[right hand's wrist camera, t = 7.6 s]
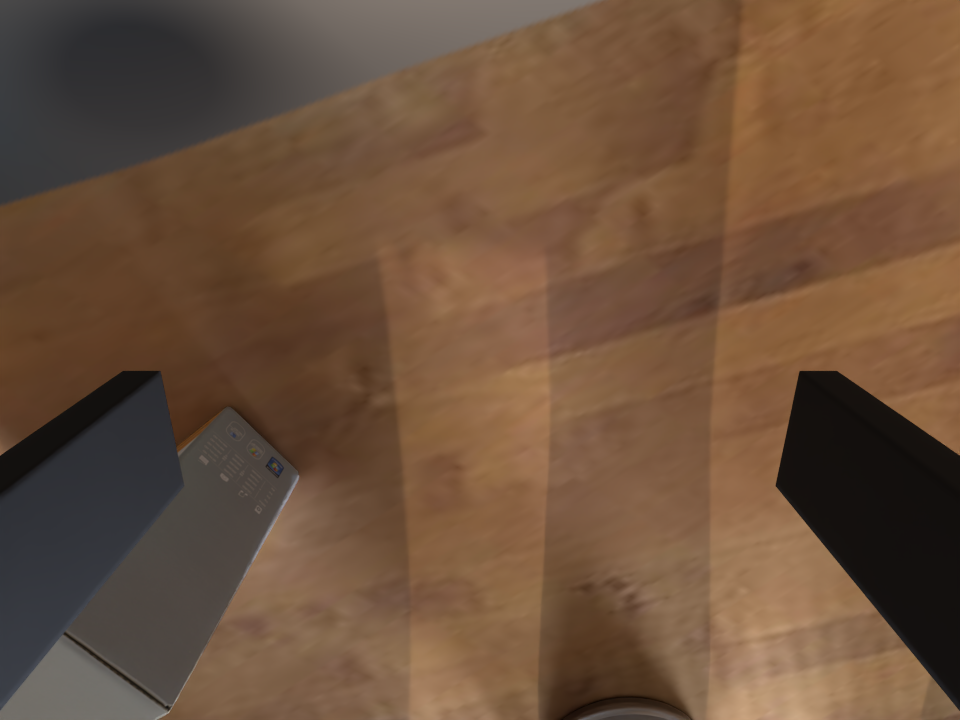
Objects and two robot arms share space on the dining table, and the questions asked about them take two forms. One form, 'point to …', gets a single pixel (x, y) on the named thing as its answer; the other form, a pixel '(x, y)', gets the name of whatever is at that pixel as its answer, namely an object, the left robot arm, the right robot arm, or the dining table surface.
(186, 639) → the hard drive box
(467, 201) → the dining table surface
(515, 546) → the dining table surface
